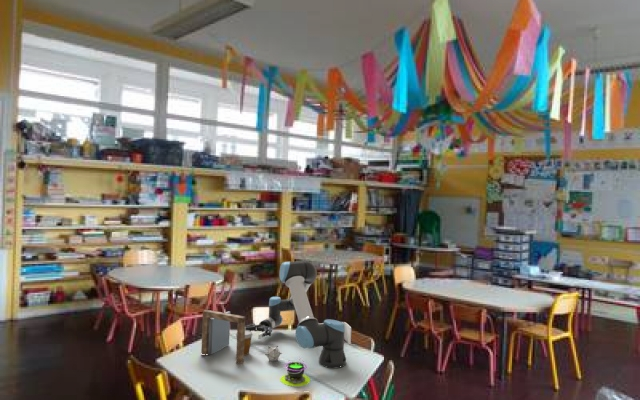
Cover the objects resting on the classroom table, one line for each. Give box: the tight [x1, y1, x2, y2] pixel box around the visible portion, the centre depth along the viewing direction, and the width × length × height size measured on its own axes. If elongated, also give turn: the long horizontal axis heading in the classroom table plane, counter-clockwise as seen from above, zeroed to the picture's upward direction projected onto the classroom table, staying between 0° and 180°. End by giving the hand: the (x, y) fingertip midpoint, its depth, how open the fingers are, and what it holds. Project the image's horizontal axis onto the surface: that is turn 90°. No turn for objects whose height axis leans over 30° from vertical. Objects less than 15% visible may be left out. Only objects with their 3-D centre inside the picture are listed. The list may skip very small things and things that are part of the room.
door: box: [207, 311, 231, 356], centre depth 265 cm, size 19×4×20 cm, turn 157°
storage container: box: [318, 321, 352, 345], centre depth 286 cm, size 25×11×11 cm, turn 107°
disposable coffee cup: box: [235, 330, 254, 356], centre depth 262 cm, size 10×10×12 cm
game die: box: [265, 345, 283, 363], centre depth 253 cm, size 9×8×10 cm
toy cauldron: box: [280, 356, 311, 387], centre depth 230 cm, size 15×15×11 cm
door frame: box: [200, 309, 246, 365], centre depth 253 cm, size 26×3×25 cm, turn 67°
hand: (249, 334), depth 272 cm, fingers open, 13 cm apart
